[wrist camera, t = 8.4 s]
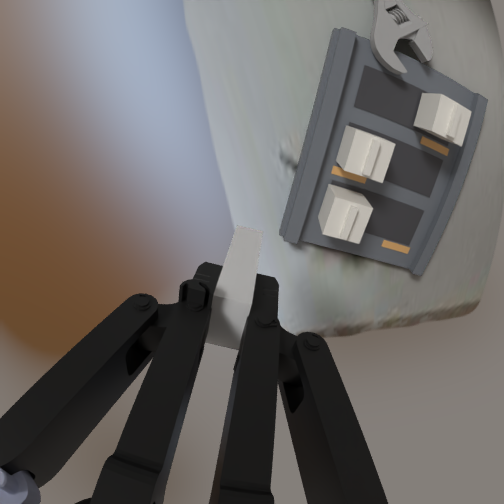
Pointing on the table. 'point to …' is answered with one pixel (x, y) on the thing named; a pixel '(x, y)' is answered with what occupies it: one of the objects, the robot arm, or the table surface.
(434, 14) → the table surface
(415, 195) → the switch bank
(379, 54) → the adjustable wrench
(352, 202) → the white ridged block
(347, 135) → the white slider knob
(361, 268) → the table surface
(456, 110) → the white notched block
